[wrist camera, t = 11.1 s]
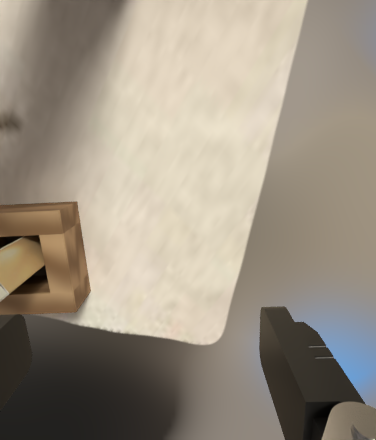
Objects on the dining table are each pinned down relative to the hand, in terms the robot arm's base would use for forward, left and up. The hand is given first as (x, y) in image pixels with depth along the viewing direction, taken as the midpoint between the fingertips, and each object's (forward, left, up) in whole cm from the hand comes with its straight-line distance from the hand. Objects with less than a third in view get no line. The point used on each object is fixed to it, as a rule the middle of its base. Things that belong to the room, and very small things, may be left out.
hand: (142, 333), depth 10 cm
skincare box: (+7, -20, -28) cm, 35 cm away
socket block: (+7, -20, -28) cm, 35 cm away
